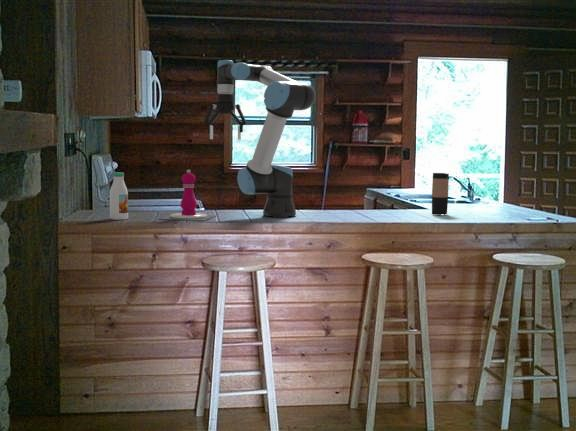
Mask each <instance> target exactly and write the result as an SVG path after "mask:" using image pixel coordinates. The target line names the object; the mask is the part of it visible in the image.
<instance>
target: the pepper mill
mask: <svg viewBox="0 0 576 431" xmlns="http://www.w3.org/2000/svg"><path fill="white" fill-rule="evenodd" d="M181 181H182V182H183V184H182V188H183V195H182V198H181V200H180V205H179V206H180V208H181V209H182V210H181V213H182V215H196V213H197V211H196V210H195V209H196V208H197V206H198V202H197V200H196V197H195V193H194V188H195V184H194V183H195V182H196V176H195V174H194V173H192V172H191V169H187V170H186V173H184V174H183V175H182V177H181Z"/></svg>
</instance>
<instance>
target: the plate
mask: <svg viewBox="0 0 576 431" xmlns="http://www.w3.org/2000/svg"><path fill="white" fill-rule="evenodd" d="M207 215H208V214H206V213H199V212H196V215H182V212H180V213H179V212H177V213H176V212H175V213H171V214H170V215H169V216H170V217H171V218H176V219H201V218H207Z"/></svg>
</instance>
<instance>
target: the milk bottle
mask: <svg viewBox="0 0 576 431" xmlns="http://www.w3.org/2000/svg"><path fill="white" fill-rule="evenodd" d="M112 178H113V181H112V184H111V187H110V189H109V219H110V220H116V221H117V220H118V221H119V220H120V221H122V220H128V219H129V192H128V188H127V185H126V183H125V180H124V178H125V173H124V172H113V173H112Z"/></svg>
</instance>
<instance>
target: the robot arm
mask: <svg viewBox="0 0 576 431" xmlns="http://www.w3.org/2000/svg"><path fill="white" fill-rule="evenodd" d="M216 70H217V71H216V73H217V79H216V80H217V88H216V89H217V91H216V92H217V93H218V94H217V96H216V97H217V103H216V104H213V103H211V104H210V107H209V108H210V109H209V111H208V112H207V115H206V117H205V118H204V122H203V124H204V125H207V132H208V133H209V140H213V139H214V125H212V124H213V123H214V122H215V120H217V119H218V117H220V115H225V114H226V115H229V114H230V115H231V116H232V118H233V119H234V120H235V121H236V122H237V123H238V125H237V140H238V141H240V140H242V137H241V136H242V133H243V131H244V125H247V124H248V122H247V120H246V118H245V116H244V113H243V112H242V110H241V104H239V103H237V104H234V89H235V88H234V84H235V82H234V81H246V82H247V81H248V82H249V81H250V82H256V83H257V82H258V83H261V84H263V85H264V86H266V88H265V90H264V93H263V94H264V95H263V98H264V99H263V102H264V105H265V109H266V111H267V114H266V117H265V120H264V123H263V127H262V129H261V132H260V135H259V137H258V141H257V143H256V147H255V149H254V154H253V156H252V159H250V160H248V161H247V163H246V166H245V167H242V168H240V169H239V170H238V173H237V179H236V180H237V184H238V187H239V190H241V192H242V194H244V195H250V196H251V195H261V194H262V195H263V194H264V195H267V196H266V201H265V205H264V207H263V211H262V216H263V215H266V216H275V217H274V218H288V217H287V216H295V215H296V216H297V211H296V207H295V203H294V201H293V186H294V185H293V181H294V180H293V179H294V174H293V172H294V171H293V169H292V168H291V167H289V166H285V165H276V164H272V163H273V160H274V157H275V155H276V151H277V148H278V146H279V143H280V140H281V137H282V136H283V135H282V134H283V132H284V129H285V125H286V123H287V121H288V120H289V119H291V118H292V117H293V114H294V112H295V111H305V110H308V109H309V108H311V107H312V106H313V104H315V101H316V97H317V96H316V95H317V94H316V91H315V88H314V87H313V86H312V85H310V84H309V83H307V82H305V81H303V80H298V81H297V80H295V79H292V78H290V77H288V76H285V75H284V74H281V73H279V72H277V71H275V70H274V69H273V68H272V66H269V65H264V64H261V65H260V64H251V63H246V62H240V61H239V62H236V63H234V61H233V60H230V59H222V60H221V59H220V60H218V61H217V68H216ZM216 109H217V111H216V112H215V114H213V113H214V110H216ZM234 109H235V110H236V111H237V113H238V115H239V117H238V116H237V114H236V113H235V111H233V110H234ZM212 115H213V116H212ZM266 216H265V217H266ZM296 216H295V217H296Z"/></svg>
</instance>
